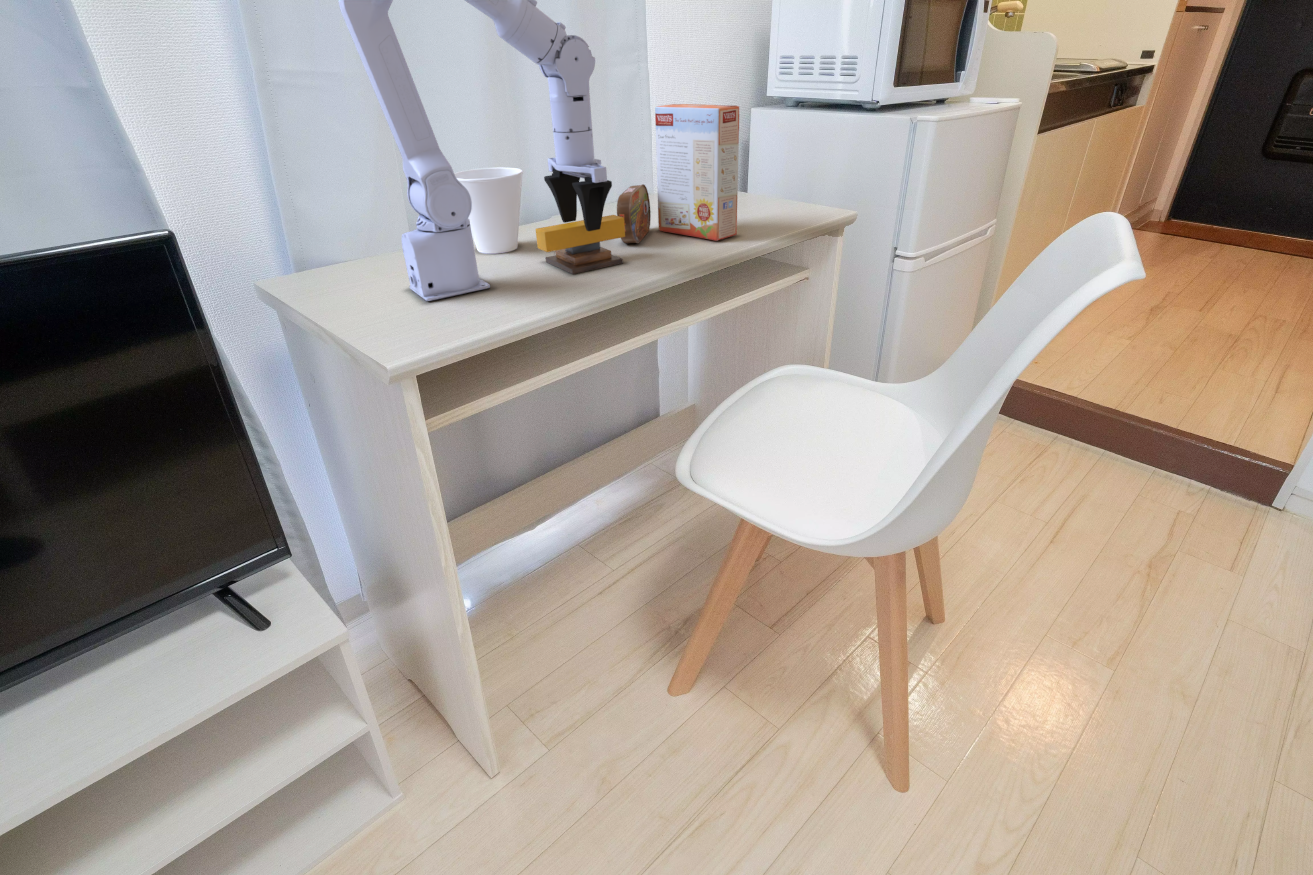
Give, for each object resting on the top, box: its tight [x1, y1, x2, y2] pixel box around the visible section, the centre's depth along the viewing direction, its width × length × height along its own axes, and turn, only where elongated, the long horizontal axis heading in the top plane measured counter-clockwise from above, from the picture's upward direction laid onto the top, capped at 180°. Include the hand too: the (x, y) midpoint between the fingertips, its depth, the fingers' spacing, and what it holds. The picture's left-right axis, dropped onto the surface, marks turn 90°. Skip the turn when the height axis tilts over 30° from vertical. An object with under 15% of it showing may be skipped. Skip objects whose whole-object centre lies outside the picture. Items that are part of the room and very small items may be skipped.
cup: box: [454, 166, 524, 255], centre depth 117 cm, size 12×12×12 cm
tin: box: [616, 184, 652, 244], centre depth 122 cm, size 15×3×8 cm, turn 168°
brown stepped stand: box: [545, 242, 624, 275], centre depth 110 cm, size 9×9×3 cm
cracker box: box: [654, 103, 740, 242], centre depth 120 cm, size 14×6×21 cm, turn 46°
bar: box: [535, 214, 625, 253], centre depth 108 cm, size 14×3×3 cm, turn 125°
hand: (581, 225), depth 108 cm, fingers open, 7 cm apart
